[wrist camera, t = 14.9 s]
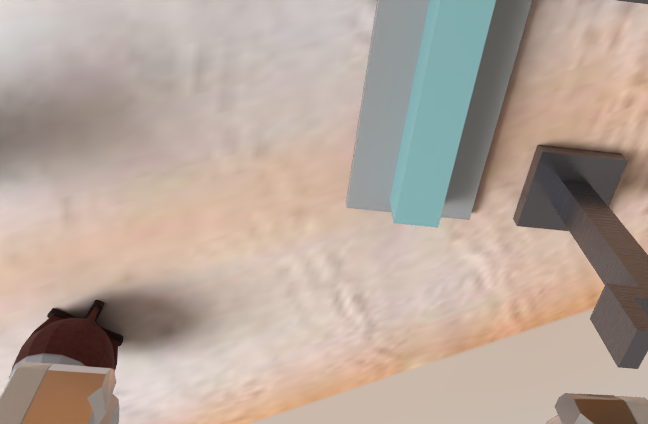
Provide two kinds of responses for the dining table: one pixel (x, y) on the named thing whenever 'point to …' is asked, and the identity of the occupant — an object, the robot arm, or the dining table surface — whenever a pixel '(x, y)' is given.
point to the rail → (438, 107)
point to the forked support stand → (594, 238)
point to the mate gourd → (71, 341)
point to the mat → (394, 94)
